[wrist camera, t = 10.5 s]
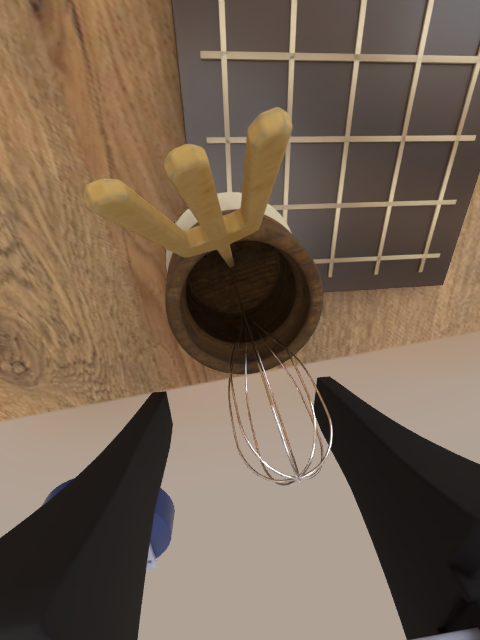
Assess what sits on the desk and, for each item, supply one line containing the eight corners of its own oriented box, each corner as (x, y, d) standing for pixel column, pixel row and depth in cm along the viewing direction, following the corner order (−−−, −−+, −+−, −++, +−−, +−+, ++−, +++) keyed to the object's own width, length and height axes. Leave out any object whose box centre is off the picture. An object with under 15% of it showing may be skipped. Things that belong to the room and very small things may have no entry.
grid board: (423, 305, 17) (436, 311, 16) (178, 321, 16) (175, 328, 15) (540, -82, 10) (576, -115, 9) (113, -111, 9) (100, -155, 8)
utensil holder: (205, 327, 15) (179, 614, 4) (159, 228, 13) (-215, 305, 2) (292, 295, 15) (510, 515, 4) (263, 187, 12) (660, -54, 1)
